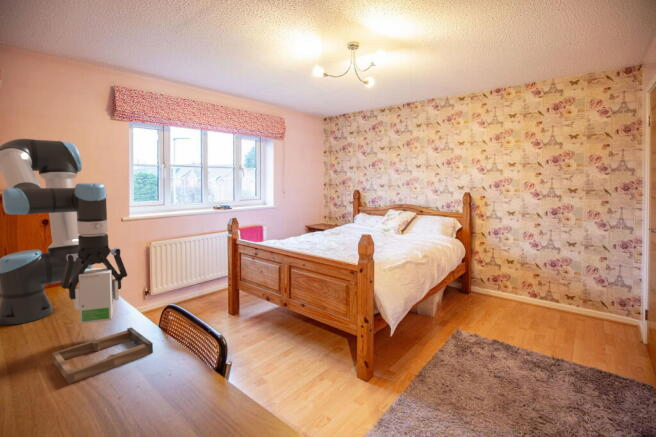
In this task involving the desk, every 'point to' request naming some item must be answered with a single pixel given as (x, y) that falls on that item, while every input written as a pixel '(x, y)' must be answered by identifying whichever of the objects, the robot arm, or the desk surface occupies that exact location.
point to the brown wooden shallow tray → (111, 361)
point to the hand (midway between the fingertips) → (97, 303)
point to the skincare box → (95, 295)
